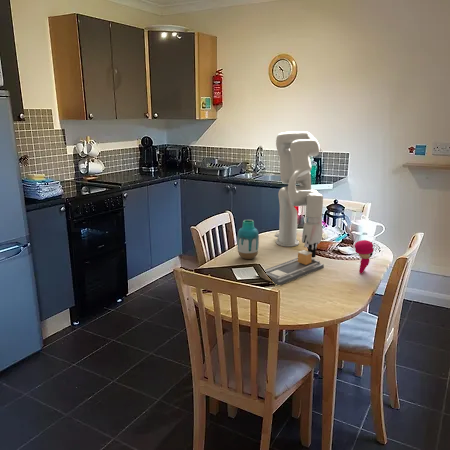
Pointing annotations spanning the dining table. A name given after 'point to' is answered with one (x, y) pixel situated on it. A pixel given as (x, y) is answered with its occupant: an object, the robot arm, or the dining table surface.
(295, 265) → the grey rectangular tray
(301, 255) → the orange cube
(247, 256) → the vase
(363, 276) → the dining table surface
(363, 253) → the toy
